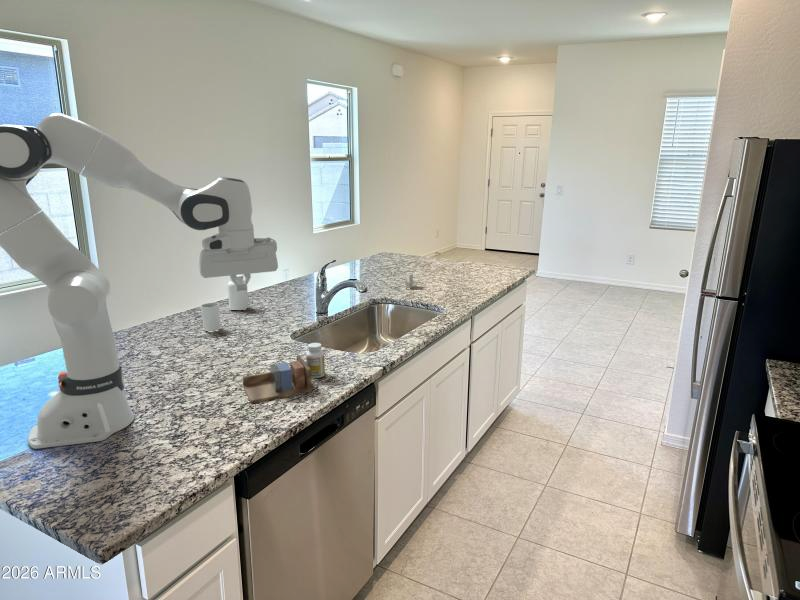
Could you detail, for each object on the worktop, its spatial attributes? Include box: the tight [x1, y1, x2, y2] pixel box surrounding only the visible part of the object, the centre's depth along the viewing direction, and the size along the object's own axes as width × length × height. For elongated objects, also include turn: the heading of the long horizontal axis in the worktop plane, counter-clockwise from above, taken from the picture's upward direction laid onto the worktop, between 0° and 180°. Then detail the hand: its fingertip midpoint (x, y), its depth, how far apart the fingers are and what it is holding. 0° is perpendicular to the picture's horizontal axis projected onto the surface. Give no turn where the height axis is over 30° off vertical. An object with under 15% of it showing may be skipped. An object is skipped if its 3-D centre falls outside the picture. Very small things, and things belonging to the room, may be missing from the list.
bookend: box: [269, 363, 282, 392], centre depth 151 cm, size 2×6×6 cm, turn 26°
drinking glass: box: [200, 301, 221, 332], centre depth 202 cm, size 7×7×10 cm
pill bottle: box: [227, 274, 249, 311], centre depth 228 cm, size 8×8×15 cm
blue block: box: [275, 362, 292, 391], centre depth 152 cm, size 3×6×6 cm, turn 26°
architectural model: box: [402, 273, 414, 289], centre depth 265 cm, size 3×7×7 cm, turn 163°
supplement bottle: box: [305, 342, 326, 379], centre depth 162 cm, size 5×5×10 cm
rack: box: [241, 355, 313, 404], centre depth 152 cm, size 17×12×7 cm
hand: (241, 290), depth 146 cm, fingers closed
